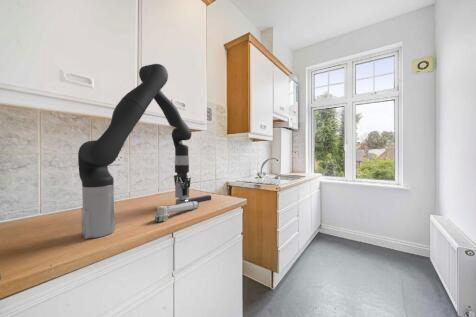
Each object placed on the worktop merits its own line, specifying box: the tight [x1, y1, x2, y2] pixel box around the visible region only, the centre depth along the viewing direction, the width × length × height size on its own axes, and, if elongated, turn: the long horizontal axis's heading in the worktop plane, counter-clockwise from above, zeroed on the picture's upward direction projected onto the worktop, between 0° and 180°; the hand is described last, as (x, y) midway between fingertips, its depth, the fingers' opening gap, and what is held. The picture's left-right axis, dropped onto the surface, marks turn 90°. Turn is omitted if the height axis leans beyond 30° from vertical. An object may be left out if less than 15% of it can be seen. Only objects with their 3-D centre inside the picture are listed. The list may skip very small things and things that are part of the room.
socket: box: [174, 182, 190, 199], centre depth 110 cm, size 5×5×8 cm
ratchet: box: [175, 194, 212, 205], centre depth 116 cm, size 22×7×8 cm, turn 136°
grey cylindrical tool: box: [154, 201, 200, 223], centre depth 94 cm, size 5×7×25 cm
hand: (182, 194), depth 110 cm, fingers closed on socket, 5 cm apart
